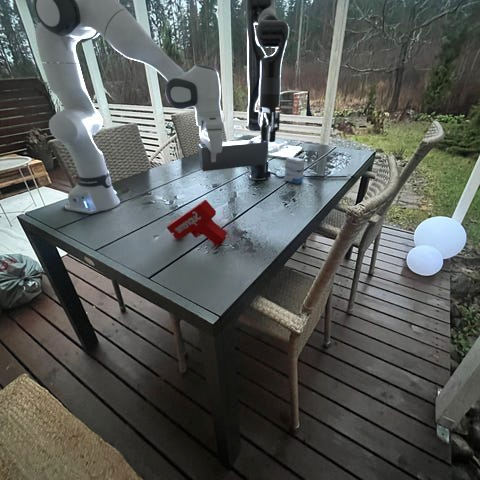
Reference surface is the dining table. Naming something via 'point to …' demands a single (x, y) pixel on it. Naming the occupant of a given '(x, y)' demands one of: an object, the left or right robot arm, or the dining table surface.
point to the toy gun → (198, 224)
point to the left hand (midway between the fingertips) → (211, 159)
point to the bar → (234, 155)
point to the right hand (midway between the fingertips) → (267, 139)
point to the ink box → (294, 170)
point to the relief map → (282, 150)
